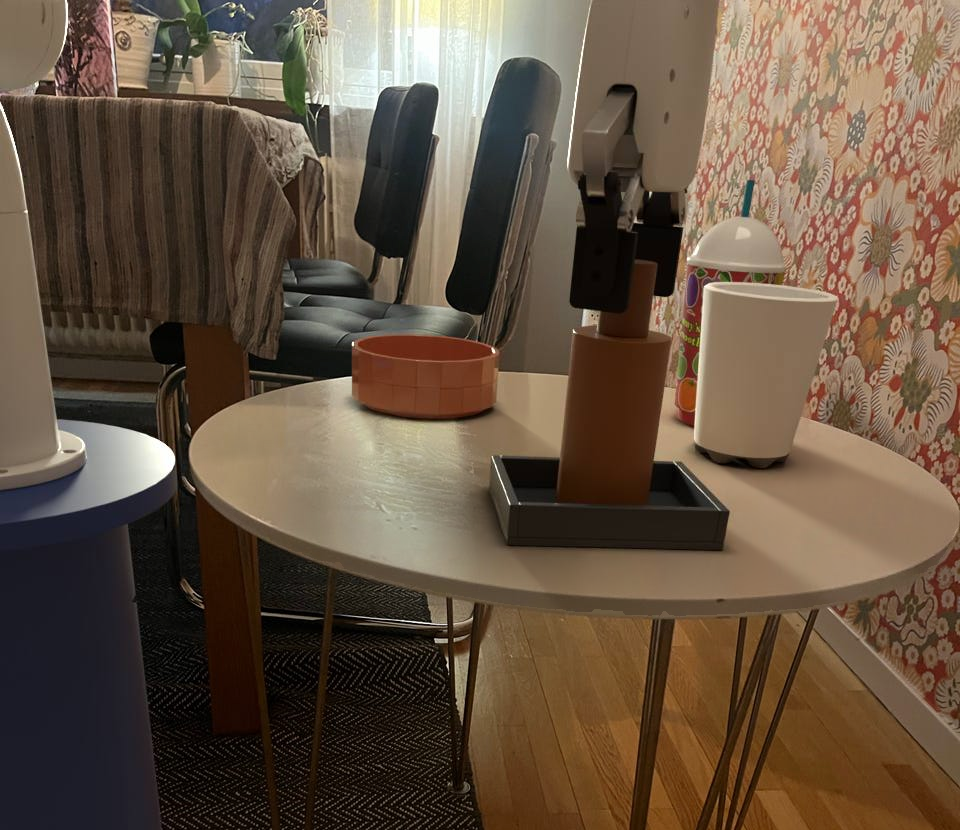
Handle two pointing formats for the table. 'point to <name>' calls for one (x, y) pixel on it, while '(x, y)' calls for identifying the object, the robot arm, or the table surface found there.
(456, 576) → the table surface
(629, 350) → the bottle
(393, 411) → the bowl
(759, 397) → the cup
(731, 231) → the smoothie
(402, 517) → the table surface
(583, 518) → the tray
